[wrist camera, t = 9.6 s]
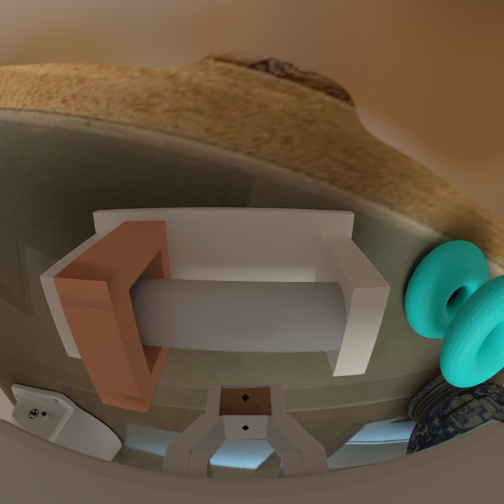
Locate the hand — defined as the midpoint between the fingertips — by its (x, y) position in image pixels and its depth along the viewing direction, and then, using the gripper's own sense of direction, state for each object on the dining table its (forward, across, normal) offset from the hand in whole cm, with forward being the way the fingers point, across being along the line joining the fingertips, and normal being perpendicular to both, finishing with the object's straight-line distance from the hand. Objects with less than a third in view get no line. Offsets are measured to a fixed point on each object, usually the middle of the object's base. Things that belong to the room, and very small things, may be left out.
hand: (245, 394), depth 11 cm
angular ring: (+10, -7, 0) cm, 12 cm away
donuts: (+12, +19, -2) cm, 22 cm away
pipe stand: (+12, -2, 0) cm, 13 cm away
